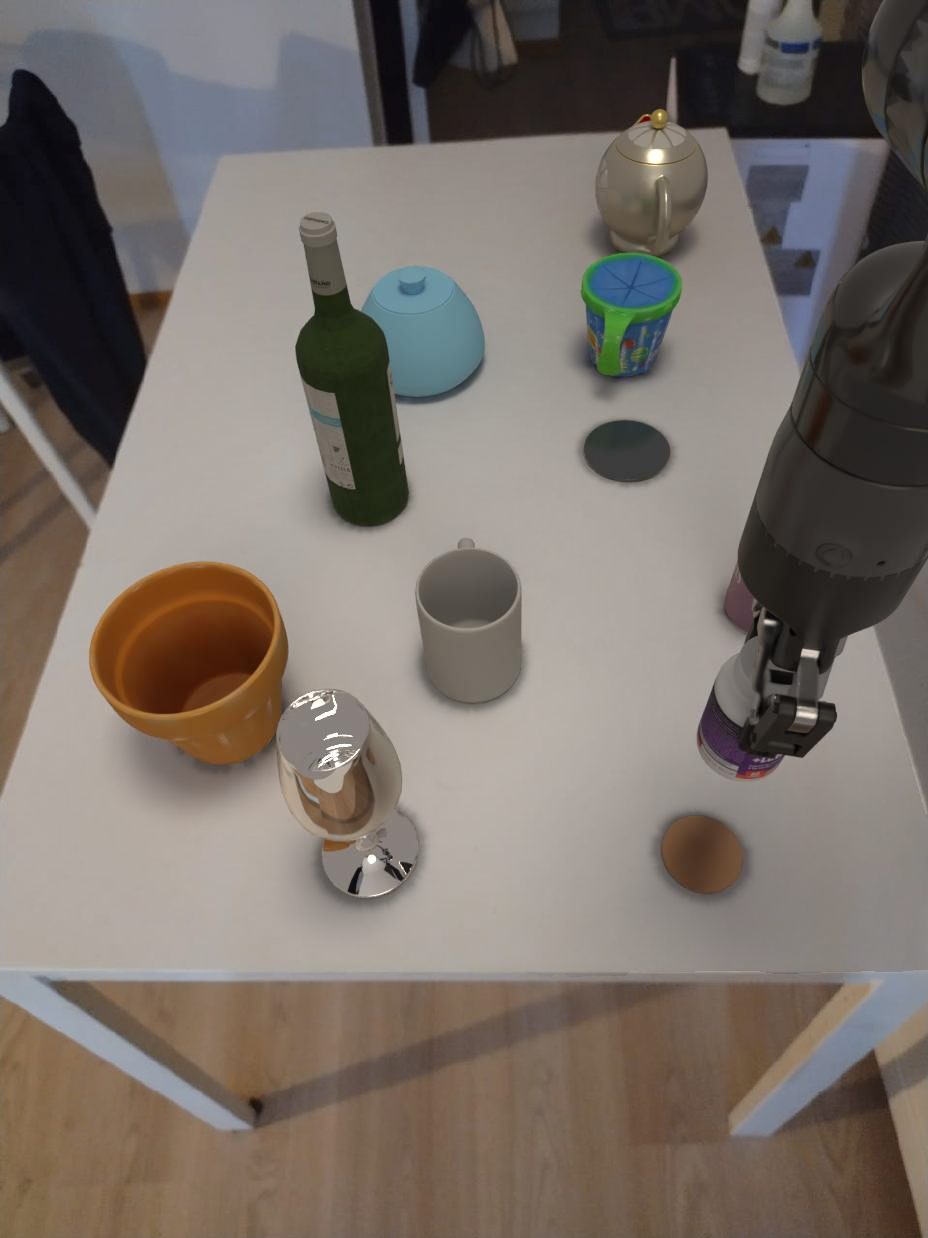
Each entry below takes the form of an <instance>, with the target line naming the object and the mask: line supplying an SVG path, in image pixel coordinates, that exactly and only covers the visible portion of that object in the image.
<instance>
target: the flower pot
mask: <svg viewBox="0 0 928 1238" xmlns="http://www.w3.org/2000/svg"><path fill="white" fill-rule="evenodd" d="M282 616H283V615H282V613H281V611H280V607H279V605H278V602H277V600H276V598H275V596H274V594H273V592H272V591H271V590H270V588H269V587H268V586H267V584H265V583H264V582H263V580H261V579H260V578H259V577H257V576H256V575H254V574H253V573H251V572H250V571H248V570H246V569H244V568H242V567H239V566H236V565H233V564H230V563H225V562H218V561H191V562H184V563H179V564H176V565H175V564H174V565H171V566H167V567H165V568H162V569H160V570H157V571H155V572H152V573H150V574H148V575H146V576H144V577H142V578H140V579H139V580H137V581H136V582H134V583H133V584H131V585H130V586H128V588H127V589H125V590H124V591H122V593H120V595H118V596H117V597H116V598H115V599H114V600H113V601H112V602H111V604H110V605H109V606H108V607H107V608H106V610H105V611H104V613H102V615H101V617H100V618H99V620H98V623H97V624H96V626H95V628H94V631H93V634H92V637H91V641H90V646H89V652H88V665H89V670H90V675H91V678H92V680H93V683H94V685H95V687H96V688H97V690H98V691H99V693H100V694H101V696H102V697H103V698H104V699H105V700H106V702H107V703H108V705H109V706H110V707H111V708H112V709H113V711H115V713H116V714H117V715H118V717H120V718H121V719H122V721H124V722H125V723H126V724H127V725H129V726H130V727H131V728H133V729H134V730H136V731H138V732H140V733H142V734H143V735H147V736H149V737H151V738H152V737H153V738H155V739H160V740H165V741H169V743H171V744H173V745H174V746H176V747H177V748H179V749H181V750H182V751H184V752H185V753H187V754H188V755H190V756H191V757H193V758H194V759H196V760H197V761H200V762H203V763H205V764H210V765H215V766H226V765H227V766H228V765H233V764H237V763H242V762H243V761H245V760H248V759H250V758H252V757H254V756H256V755H257V754H259V753H260V752H261V751H262V750H264V749H265V748H266V747H267V746H268V744H270V743H271V741H272V740H273V738H274V737H275V736H276V732H277V727H278V723H279V721H280V718H281V716H282V715H283V713H282V711H283V709H282V708H283V703H282V702H283V685H282V682H283V681H282V679H283V677H284V675H285V672H286V668H287V664H288V659H289V640H288V634H287V630H286V626H285V623H284V620H283V617H282Z"/></svg>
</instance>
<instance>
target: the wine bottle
mask: <svg viewBox="0 0 928 1238" xmlns="http://www.w3.org/2000/svg"><path fill="white" fill-rule="evenodd" d="M298 231H299V237H300V241H301V243H302V244H303V249H304V255H305V262H306V267H307V272H308V278H309V284H310V289H311V295H312V302H313V307H314V313H313V315H312V316H311V317H310V318H309V319H308V321H307V322H305V324H304V325H303V326H302V327H301V329H300V331H299V333H298V337H297V338H296V342H295V346H294V351H295V358H296V359H295V360H296V364H297V369H298V372H299V375H300V380H301V385H302V387H303V392H304V395H305V401H306V404H307V407H308V411H309V415H310V419H311V423H312V427H313V430H314V435H315V438H316V439H315V440H316V443H317V447H318V451H319V455H320V459H321V462H322V466H323V471H324V475H325V478H326V483H327V487H328V490H329V494H330V498H331V502H332V506H333V509H334V510H335V511H336V513H337V514H338V516H339V517H340V518H342V519H344V520H345V521H346V522H348V523H351V524H354V525H357V526H369V527H370V526H377V525H382V524H384V523H387V522H389V521H391V520H393V519H394V518H395V517H397V516H398V515H399V514H401V513H402V512H403V509H404V508H405V507H406V505H407V504H408V499H409V495H410V492H409V491H410V490H409V484H408V477H407V471H406V469H407V468H406V463H405V456H404V450H403V449H404V448H403V444H402V443H403V442H402V436H401V429H400V421H399V415H398V409H397V402H396V401H397V400H396V394H394V387H393V380H392V373H391V366H390V360H389V353H388V346H387V342H386V338H385V335H384V332H383V330H382V329H381V328H380V327H379V326H378V324H377V323H376V322H375V321H374V320H373V318H371V317H370V316H368V315H366V314H364V313H363V312H361V310H359V309H357V308H354V306H353V304H352V302H351V298H350V297H351V296H350V293H349V289H348V284H347V280H346V275H345V270H344V266H343V261H342V256H341V252H340V247H339V244H338V243H339V242H338V239H337V238H338V231H337V226H336V222H335V220H333V217H332V216H331V215H330V214H329V213H327V212H323V211H314V212H310V213H307V214H305V215H303V216H302V217H301V218H300V221H299V227H298Z"/></svg>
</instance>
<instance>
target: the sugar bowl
mask: <svg viewBox="0 0 928 1238" xmlns="http://www.w3.org/2000/svg"><path fill="white" fill-rule="evenodd" d="M360 311H361V312H363V313H364V314H366V315H368V316H370V317H371V318H373V320H374V321H375V322H376V323H377V324H378V326H379V327H380V328H381V329H382V330H383V332H384V335H385V338H386V342H387V346H388V353H389V360H390V366H391V373H392V380H393V387H394V394H395V395H397V396H401V397H406V398H407V397H408V398H426V397H432V396H438V395H441V394H444V393H446V392H448V391H450V390H452V389H454V388H456V387H457V386H459V385H460V384H462V383H463V382H464V381H465V380H466V379H468V378H469V377H470V376H471V375H472V374H473V373H474V371H475V370H476V369H477V368H478V367H479V365H480V363H481V361H482V358H483V356H484V353H485V348H486V341H485V333H484V328H483V324H482V322H481V318H480V316H479V313H478V311H477V309H476V308H475V305H474V304H473V303H472V301H471V300H470V298H469V296H468V295H467V294H466V293H465V292H464V290H463V289H462V288H461V287H460V285H458V283H457V282H456V281H455V280H454V279H453V278H451V276H450V275H448V274H447V273H446V272H445V271H442V270H440V269H437V268H435V267H430V266H424V265H409V266H403V267H400V268H396V269H394V270H392V271H390V272H388V273H386V274H385V275H383V276H382V277H381V278H379V279H378V280H377V281H376V283H375V284H374V286H373V287H372V288H371V290H370V291H369V293H368V295H367V297H366V299H365V301H364V302H363V305H362V307H361V309H360Z"/></svg>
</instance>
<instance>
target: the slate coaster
mask: <svg viewBox="0 0 928 1238" xmlns="http://www.w3.org/2000/svg"><path fill="white" fill-rule="evenodd" d="M583 456H584V459H585V461H586V463H587V465H588V466H589V467H590V468H591V469H592V470H593V471H594V472H595V473H597V474H599V475H600V476H602V477H604V478H606V479H609V480H612V481H616V482H624V483H637V482H641V481H645V480H648V479H651V478H653V477H656V476H657V475H658V474H660V473H661V472H662V471H663V470H664V469H666V466H667V465H668V463H669V461H670V458H671V457H670V456H671V448H670V443H669V441H668V440H667V438H666V437H665V436H664V434H663V433H662V432H661V431H660V430H659V429H657V428H655V427H653V426H652V425H649V424H647V423H644V422H642V421H637V420H633V419H632V420H629V419H620V420H619V419H618V420H613V421H608V422H605V423H603V424H600V425H599V426H597V427H595V428H593V430H591V431H590V432H589V434H588V435H587V436H586V438H585V440H584V443H583Z"/></svg>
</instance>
